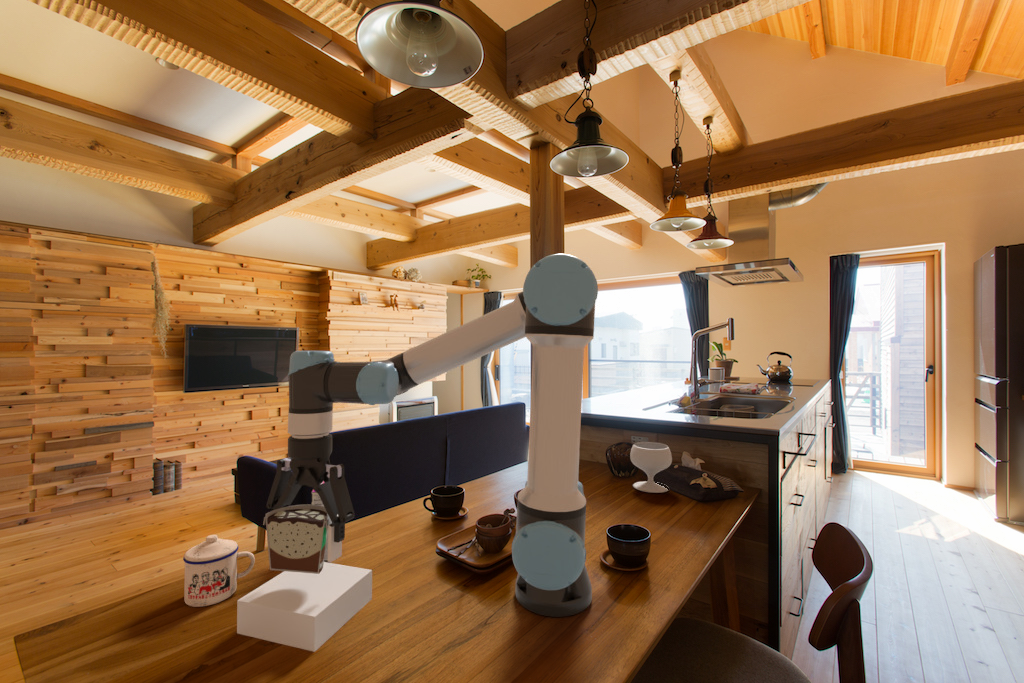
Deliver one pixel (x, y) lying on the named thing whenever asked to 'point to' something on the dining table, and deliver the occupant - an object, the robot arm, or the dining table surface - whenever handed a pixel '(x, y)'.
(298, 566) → the food container
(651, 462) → the chalice
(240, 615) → the white block
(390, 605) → the dining table surface
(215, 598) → the teacup with lid
